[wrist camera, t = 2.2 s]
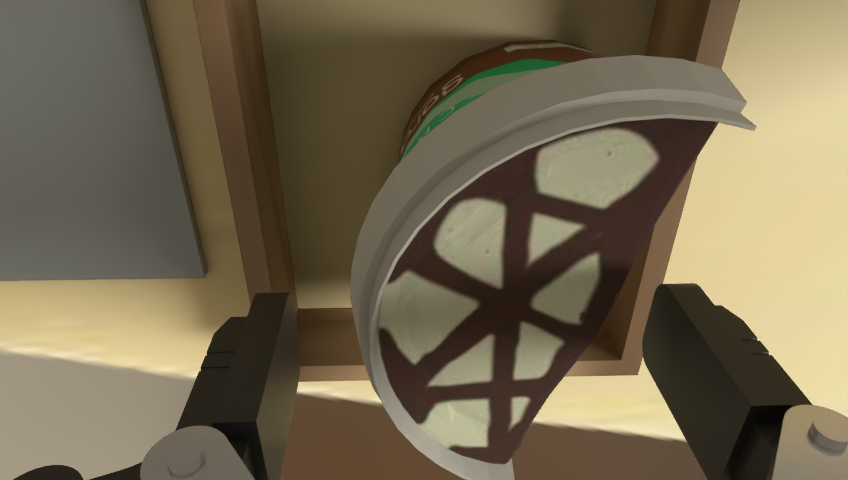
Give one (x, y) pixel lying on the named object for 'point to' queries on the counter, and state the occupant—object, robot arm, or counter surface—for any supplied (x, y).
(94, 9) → the rubber mat
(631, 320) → the frame
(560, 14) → the counter surface
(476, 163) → the food container
